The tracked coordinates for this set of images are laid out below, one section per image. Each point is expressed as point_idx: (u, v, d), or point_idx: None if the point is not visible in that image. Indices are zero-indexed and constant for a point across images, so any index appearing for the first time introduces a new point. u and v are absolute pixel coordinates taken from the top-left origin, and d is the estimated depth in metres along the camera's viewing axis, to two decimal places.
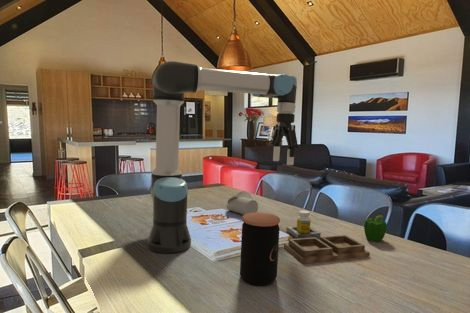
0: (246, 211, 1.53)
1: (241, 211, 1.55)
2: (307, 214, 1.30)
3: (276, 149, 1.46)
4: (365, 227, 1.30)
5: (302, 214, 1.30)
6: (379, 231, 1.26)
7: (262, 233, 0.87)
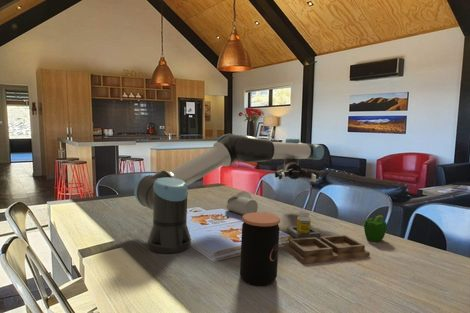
0: (246, 211, 1.53)
1: (241, 211, 1.55)
2: (307, 214, 1.30)
3: None
4: (365, 227, 1.30)
5: (302, 214, 1.30)
6: (379, 231, 1.26)
7: (262, 233, 0.87)
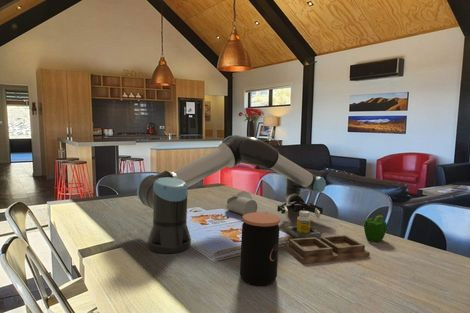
0: (245, 211, 1.53)
1: (240, 211, 1.55)
2: (307, 214, 1.30)
3: None
4: (365, 227, 1.30)
5: (302, 214, 1.30)
6: (379, 231, 1.26)
7: (262, 233, 0.87)
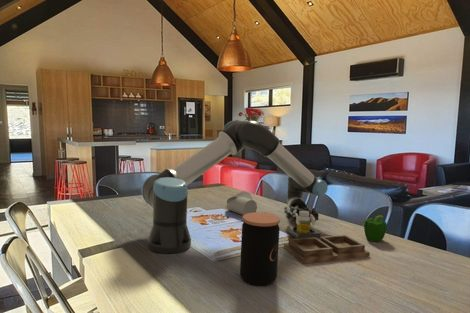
0: (244, 211, 1.53)
1: (240, 211, 1.55)
2: (307, 214, 1.30)
3: None
4: (365, 227, 1.30)
5: (302, 214, 1.30)
6: (379, 231, 1.26)
7: (262, 233, 0.87)
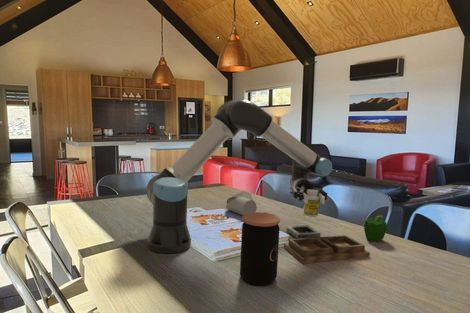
0: (244, 211, 1.52)
1: (239, 211, 1.55)
2: (316, 193, 1.21)
3: None
4: (365, 227, 1.30)
5: (310, 193, 1.21)
6: (379, 231, 1.26)
7: (262, 233, 0.87)
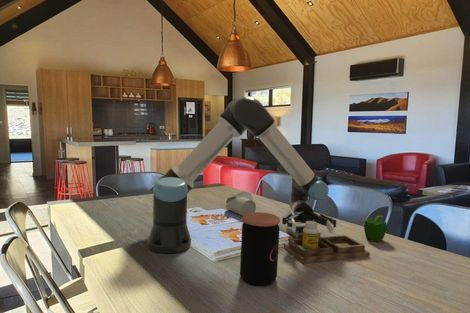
0: (243, 211, 1.52)
1: (238, 211, 1.55)
2: (315, 225, 1.11)
3: None
4: (365, 227, 1.30)
5: (309, 225, 1.11)
6: (379, 231, 1.26)
7: (262, 233, 0.87)
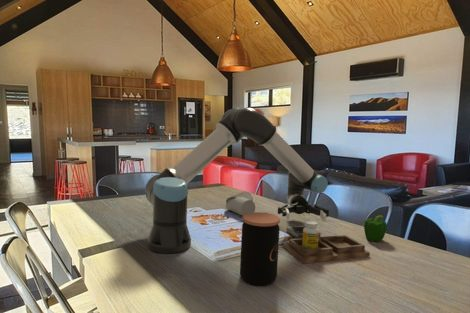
0: (242, 211, 1.52)
1: (237, 211, 1.55)
2: (315, 225, 1.11)
3: None
4: (365, 227, 1.30)
5: (309, 225, 1.11)
6: (379, 231, 1.26)
7: (262, 233, 0.87)
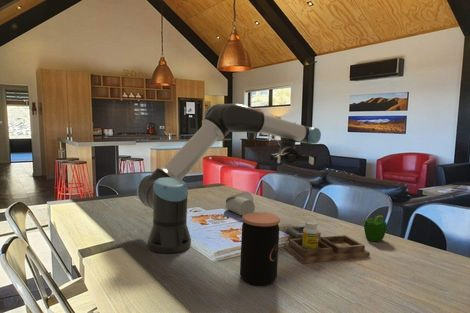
0: (241, 211, 1.52)
1: (237, 211, 1.55)
2: (315, 225, 1.11)
3: None
4: (365, 227, 1.30)
5: (309, 225, 1.11)
6: (379, 231, 1.26)
7: (262, 233, 0.87)
